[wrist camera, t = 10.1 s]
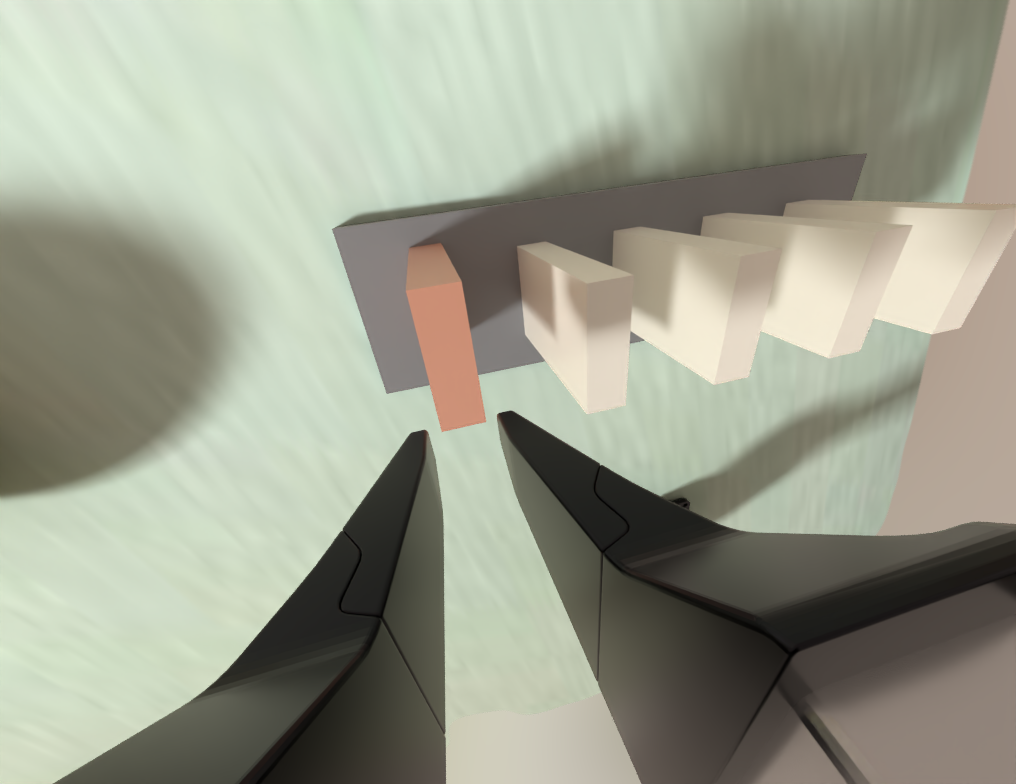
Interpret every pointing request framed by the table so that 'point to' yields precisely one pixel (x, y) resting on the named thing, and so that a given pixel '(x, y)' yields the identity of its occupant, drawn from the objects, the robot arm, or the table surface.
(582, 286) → the domino
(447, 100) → the table surface
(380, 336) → the board
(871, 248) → the domino
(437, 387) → the brick domino
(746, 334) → the domino
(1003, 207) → the domino
